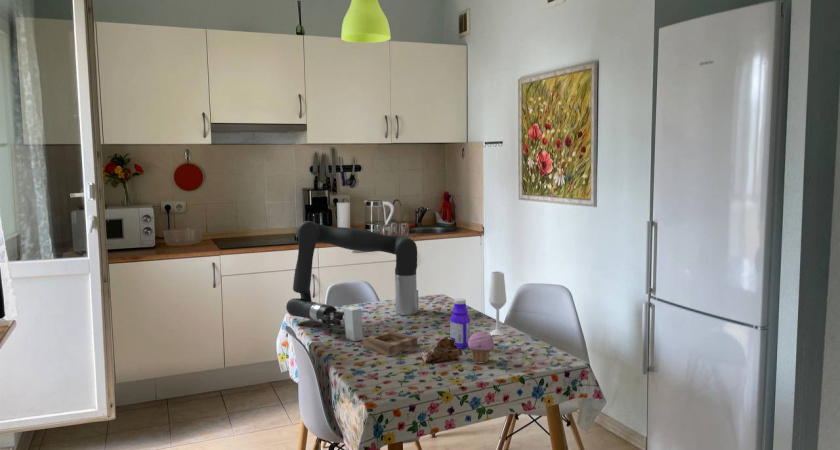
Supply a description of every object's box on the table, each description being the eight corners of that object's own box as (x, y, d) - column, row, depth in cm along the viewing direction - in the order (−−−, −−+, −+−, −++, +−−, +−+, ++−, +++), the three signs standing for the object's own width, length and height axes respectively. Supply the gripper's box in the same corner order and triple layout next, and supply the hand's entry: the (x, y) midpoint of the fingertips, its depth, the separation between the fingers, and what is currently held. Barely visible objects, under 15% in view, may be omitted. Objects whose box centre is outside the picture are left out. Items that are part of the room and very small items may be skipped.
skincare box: (363, 339, 242) (362, 308, 241) (353, 342, 239) (352, 310, 238) (354, 336, 247) (353, 305, 245) (344, 338, 244) (343, 307, 243)
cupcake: (467, 357, 220) (467, 329, 219) (492, 357, 220) (492, 328, 219) (468, 366, 211) (468, 336, 210) (494, 366, 211) (494, 336, 210)
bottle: (473, 346, 232) (472, 299, 230) (463, 350, 228) (462, 302, 226) (457, 342, 237) (457, 296, 235) (447, 345, 233) (447, 299, 231)
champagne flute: (486, 335, 245) (486, 273, 242) (492, 330, 251) (492, 270, 248) (502, 337, 242) (502, 275, 239) (508, 332, 248) (508, 271, 245)
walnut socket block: (391, 339, 242) (390, 330, 242) (417, 346, 232) (417, 337, 232) (362, 348, 232) (362, 338, 232) (389, 356, 222) (389, 346, 222)
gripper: (308, 307, 250) (333, 315, 239) (337, 301, 260) (363, 307, 249) (308, 326, 251) (334, 334, 240) (337, 319, 261) (363, 326, 250)
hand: (349, 320), depth 244 cm, fingers open, 8 cm apart
